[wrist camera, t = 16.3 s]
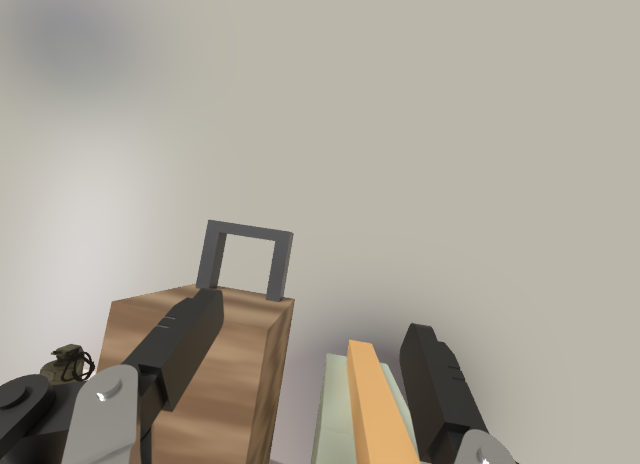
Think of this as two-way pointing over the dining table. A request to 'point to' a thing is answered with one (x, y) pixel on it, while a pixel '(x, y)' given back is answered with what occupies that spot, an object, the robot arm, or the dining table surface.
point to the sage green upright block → (345, 415)
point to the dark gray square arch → (219, 231)
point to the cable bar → (375, 411)
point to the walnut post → (214, 376)
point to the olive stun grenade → (67, 365)
